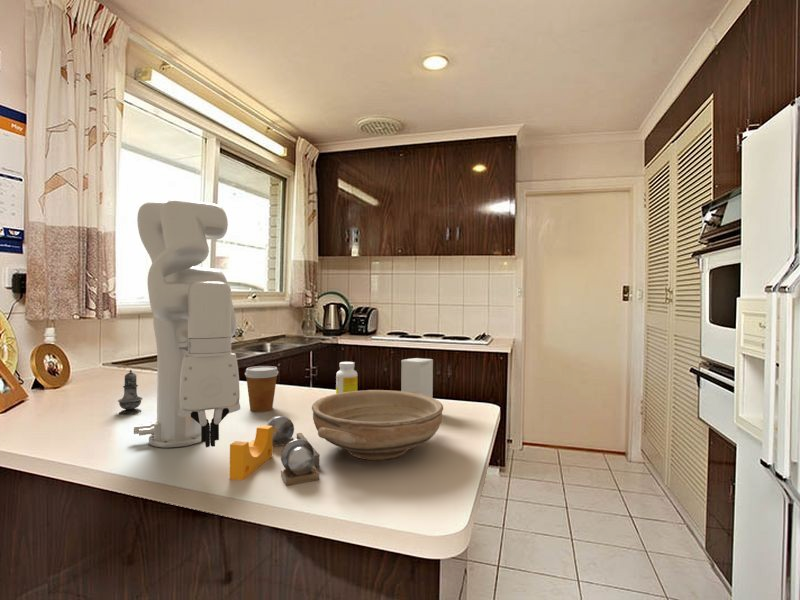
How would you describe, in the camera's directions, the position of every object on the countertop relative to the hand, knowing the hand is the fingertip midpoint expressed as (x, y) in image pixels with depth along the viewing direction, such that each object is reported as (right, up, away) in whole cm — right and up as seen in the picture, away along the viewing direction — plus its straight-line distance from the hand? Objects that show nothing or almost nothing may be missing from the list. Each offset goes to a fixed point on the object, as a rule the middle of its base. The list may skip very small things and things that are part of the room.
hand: (210, 444), depth 81 cm
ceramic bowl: (+31, -6, +14) cm, 34 cm away
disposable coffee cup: (-5, -5, +46) cm, 46 cm away
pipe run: (+13, -5, +8) cm, 16 cm away
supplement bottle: (+19, -5, +53) cm, 57 cm away
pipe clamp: (+6, -6, +3) cm, 9 cm away
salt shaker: (-40, -5, +40) cm, 57 cm away
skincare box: (+40, -6, +44) cm, 60 cm away
